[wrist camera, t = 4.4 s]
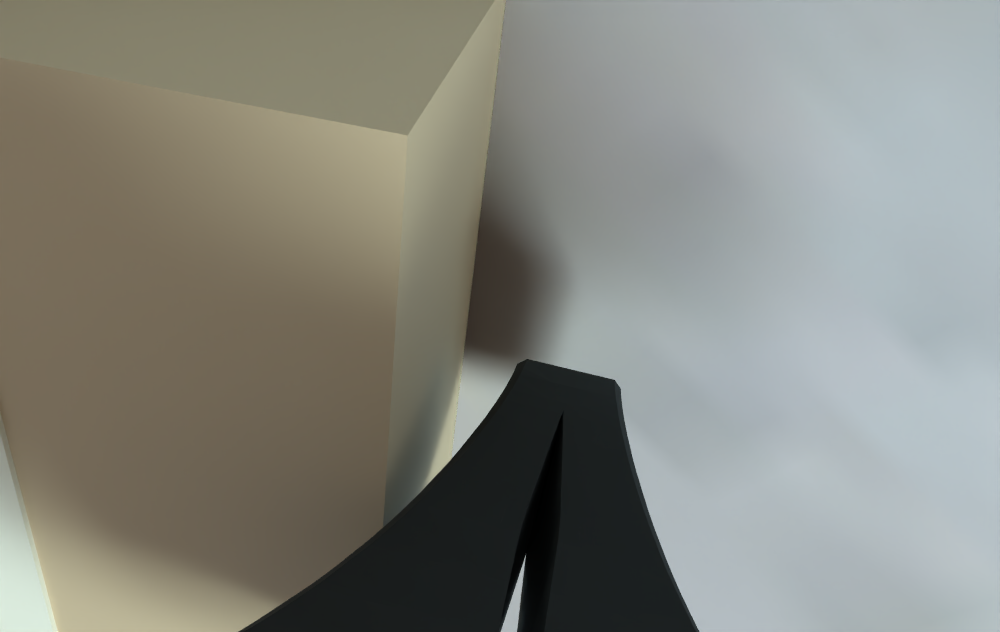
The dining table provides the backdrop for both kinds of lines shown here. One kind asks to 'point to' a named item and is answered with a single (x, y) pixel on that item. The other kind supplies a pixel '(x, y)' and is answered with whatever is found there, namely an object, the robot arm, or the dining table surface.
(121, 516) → the carton
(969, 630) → the dining table surface
